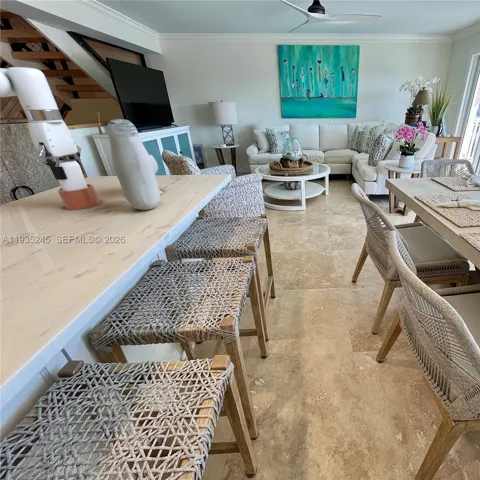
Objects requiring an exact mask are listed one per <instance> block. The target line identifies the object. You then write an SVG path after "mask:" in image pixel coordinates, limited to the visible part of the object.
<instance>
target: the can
mask: <svg viewBox="0 0 480 480" xmlns="http://www.w3.org/2000/svg"><path fill="white" fill-rule="evenodd" d="M59 161H60V166H62V167H63V169H64V172H65V174H66V176H67V179H66V180H58V183H59V185H60V188H62V190H63V191H74V190H80V189H85V188H88V187H87V184H88V183H87V181H86V179H85V176H84V174H83V173H82V170H81V168H80V165H79V164H78V163H77V162H76V160H69V159H59Z"/></svg>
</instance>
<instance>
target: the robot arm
mask: <svg viewBox="0 0 480 480" xmlns="http://www.w3.org/2000/svg"><path fill="white" fill-rule="evenodd" d="M8 97H17V98H18V101H19V103H20V105H21V107H22V109H23V111H24V114H25V115H26V118H27V120H28V122H27V128H28V132H29V136H30V138H31V141H32V144H33V146H34V149H35V151H36V154H35V158H36V159H37V160H39V161H40V162H42V163H43V164H45V165H46V167H48V168H50V170H51V172H52V174H53V177H54V179H55V180H57V181H59V180H66V179H67V176H66V174H65V172H64V169H63V167H62V166H60V161H59V160H60V158H62V157H65V158H67V160H76V162H77V163H78V164H79V165H80V168H81V170H82V173H83V175H85V171H84V169H83V166H82V164H81V161H82V159H81V152H82V148H81V147H80V146H79V145H77V144H76V141H75V140H74V137H73V135H72V132H71V131H70V129H69V127H68V126H67V124H66V123H65V121H64V119H63V117H62V115H61V112H60V110H59V108H58V104H57V102H56V99H55V98H54V95H53V92H52V90H51V87H50V85H49V83H48V80H47V78H46V75H45V74H44V72H42V70H40V69H38V68H33V67H24V66H10V67H7V68H2V67H0V98H8Z"/></svg>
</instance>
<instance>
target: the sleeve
mask: <svg viewBox="0 0 480 480" xmlns="http://www.w3.org/2000/svg"><path fill="white" fill-rule="evenodd" d="M86 184H87V187H88V188H85V189H80V190H74V191H63V190H62V188H61V187H60V188H58V189H57V192H58V195H59V197H60V199H61V200H62V203H63V205H64V207H65V209H66V210H72V211H73V210H84V209H87V208H93V207H95V206H97V205H99V204H100V203H101V201H100V199H99V196H98V194H97V191H96V189H95V187H94V184H91V183H86Z"/></svg>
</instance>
